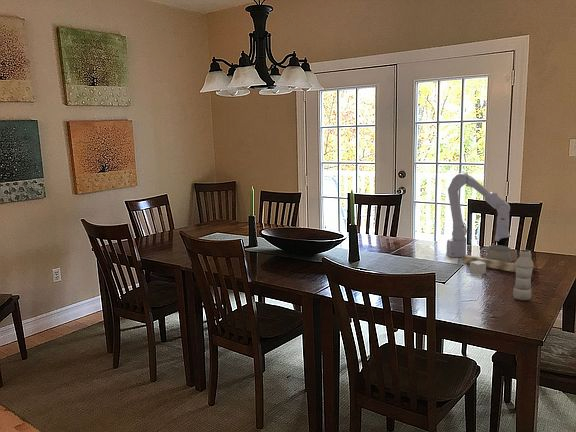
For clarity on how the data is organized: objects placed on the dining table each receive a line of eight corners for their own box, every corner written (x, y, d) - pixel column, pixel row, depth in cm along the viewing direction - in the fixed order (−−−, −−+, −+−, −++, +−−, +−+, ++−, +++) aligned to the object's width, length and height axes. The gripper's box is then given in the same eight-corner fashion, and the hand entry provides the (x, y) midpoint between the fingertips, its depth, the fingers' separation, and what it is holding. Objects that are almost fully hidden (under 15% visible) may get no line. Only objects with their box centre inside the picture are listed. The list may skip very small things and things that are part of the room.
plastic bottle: (509, 297, 193) (512, 249, 189) (525, 296, 194) (528, 248, 190) (518, 302, 187) (521, 253, 183) (534, 301, 187) (538, 252, 184)
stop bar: (461, 262, 242) (461, 255, 242) (463, 261, 244) (464, 254, 244) (515, 272, 225) (515, 264, 224) (517, 270, 226) (517, 263, 226)
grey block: (477, 274, 222) (477, 264, 221) (469, 272, 227) (470, 261, 226) (485, 273, 224) (486, 263, 223) (477, 270, 229) (478, 260, 228)
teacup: (510, 261, 242) (511, 245, 241) (510, 267, 232) (511, 251, 231) (480, 258, 248) (481, 243, 246) (479, 264, 238) (480, 248, 237)
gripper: (505, 229, 234) (503, 256, 237) (516, 224, 245) (514, 250, 247) (490, 227, 239) (489, 254, 242) (501, 223, 249) (500, 248, 252)
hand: (501, 252), depth 245 cm, fingers closed
